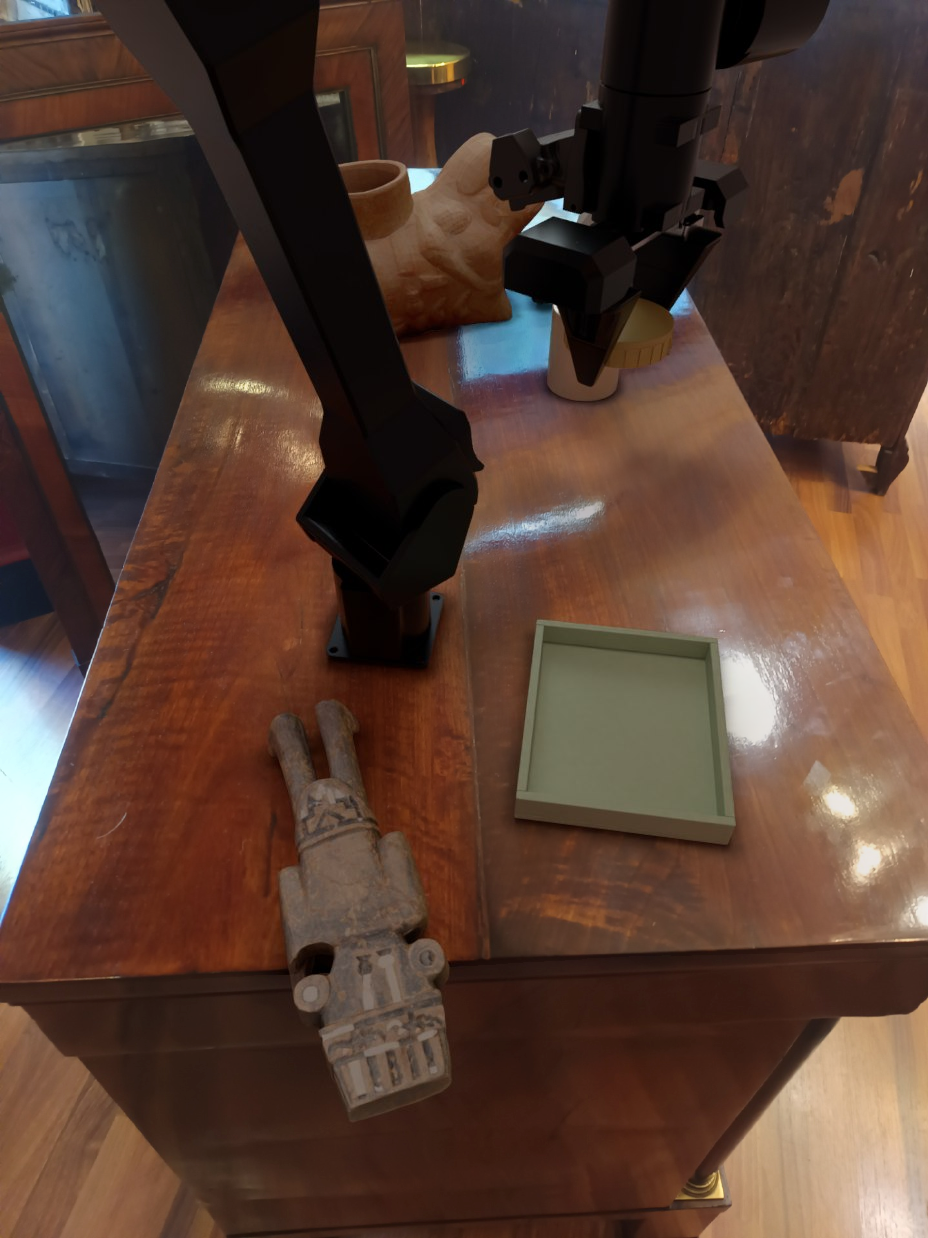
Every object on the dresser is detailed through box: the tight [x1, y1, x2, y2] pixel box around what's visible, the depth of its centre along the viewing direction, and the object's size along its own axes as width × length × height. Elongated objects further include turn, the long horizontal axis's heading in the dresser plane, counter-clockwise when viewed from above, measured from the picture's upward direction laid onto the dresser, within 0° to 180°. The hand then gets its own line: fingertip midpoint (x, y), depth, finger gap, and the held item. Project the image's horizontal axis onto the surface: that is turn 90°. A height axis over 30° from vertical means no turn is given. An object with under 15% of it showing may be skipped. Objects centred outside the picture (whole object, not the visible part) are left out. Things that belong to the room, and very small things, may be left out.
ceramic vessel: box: [338, 132, 546, 340], centre depth 80 cm, size 14×26×15 cm, turn 112°
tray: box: [513, 618, 737, 846], centre depth 46 cm, size 13×11×2 cm
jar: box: [546, 304, 621, 402], centre depth 72 cm, size 6×6×9 cm
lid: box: [563, 298, 676, 369], centre depth 52 cm, size 7×7×2 cm
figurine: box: [267, 699, 453, 1123], centre depth 39 cm, size 7×5×20 cm
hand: (613, 363), depth 53 cm, fingers closed on lid, 6 cm apart
